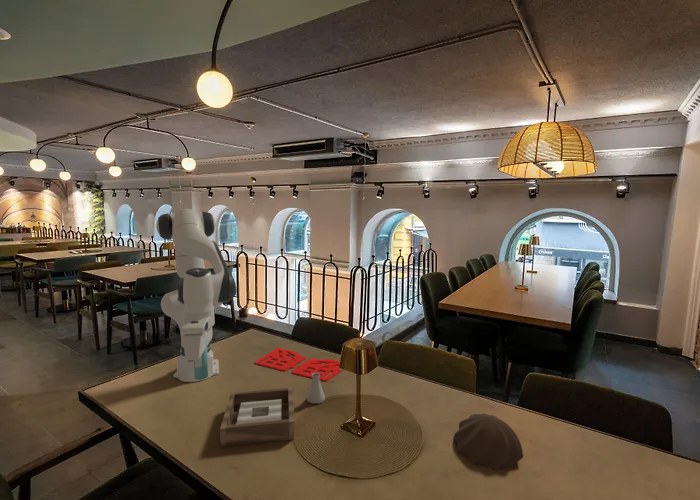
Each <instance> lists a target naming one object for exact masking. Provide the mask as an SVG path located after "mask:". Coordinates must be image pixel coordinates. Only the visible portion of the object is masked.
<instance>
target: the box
mask: <svg viewBox="0 0 700 500" xmlns="http://www.w3.org/2000/svg"><path fill="white" fill-rule="evenodd" d="M293 393H294V392H293V387H287V388H286V387H284V388H273V389H272V388H271V389H263V390H247V391H239V392H237V391H236V392H230V395H229V398H228V400H227V405H226V408H225V411H224V415H223V419H222V420H221V425H220V426H219V433H220V434H219V435H220V437H219V440H220V441H219V443H220V448H231V447H240V446H241V447H242V446H248V445H257V444H267V443H274V442H283V441H284V442H286V441H292V440H295V416H294V415H295V412H294V398H293V397H294V396H293Z"/></svg>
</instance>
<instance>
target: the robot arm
mask: <svg viewBox="0 0 700 500" xmlns="http://www.w3.org/2000/svg"><path fill="white" fill-rule="evenodd" d="M155 225H156V226H155V228H156V231H157V233H158V235H159V236H160V238H162V239H163V240H172V242H173V245H174V258H175V268H176V274H177V275H178V277H179V278H180V280H179V281H178V282H177V283H176V288H177V289H176V290H172V291H170V292H167V293H165V294H164V295H163V296H162V298H161V301H160V308H161V310H162V312H163V313H164V315H166V316H167V317H170V318H171V319H173V320H174V321H175V322H176V323H177V325H178V328H179V331H180V340H181V342H180V343H181V344H180V349H179V351H180V355H179V356H178V358H177V359H176V360H177V361H176V371H175V373H173V376H172V377H173V378H176V379H178V380H179V381H181V382H184V383H193V382H194V383H195V382H199V381H203V380H206V379H210V378H211V377H213V376H216V375H219V374H220V367H219V366H220V365H219V363H220V361H219V359H217V358H214V351H213V350H212V349H211V347H212V346H211V341H212V339H213V327H214V325H215V323H216V322H215V309H217V308H219V307H221V306H222V305H223V303H225V304H226V303H229V302H230V301H231V300H233V299H234V297H235V296H236V295H237V283H236V280H235V278H234V276H233V275H232V273H231V272H230V269H229V268H228V265H227V263H226V260H225V258H224V256H223V254H222V252H221V250H220V248H219V246H218V244H217V242H216V241H214V240H212V239H210V238H209V237H211V236H213V234H214V233H215V230H216V220H215V217H214V215H213V214H212V213H211V212H208V211H202V212H201V211H195V210H194V209H191V208H182V209H179V210H177V211H176V212H175V213H174V212H173V213H164V214H160V215H159V216H158V218H157V221H156V224H155ZM205 260H206V261H207V262H209V263H210V264H211V267H212V269H213V271H214V273H215V274H212V272H211V270H209V269H208V268H206V265H205ZM206 339H207V355H208V377H207V378H205V379H202V380H196V379H195V377H194V361H195V367H201V366H202V359H201V356H202V353H203V352H204V350H205V348H206Z"/></svg>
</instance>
